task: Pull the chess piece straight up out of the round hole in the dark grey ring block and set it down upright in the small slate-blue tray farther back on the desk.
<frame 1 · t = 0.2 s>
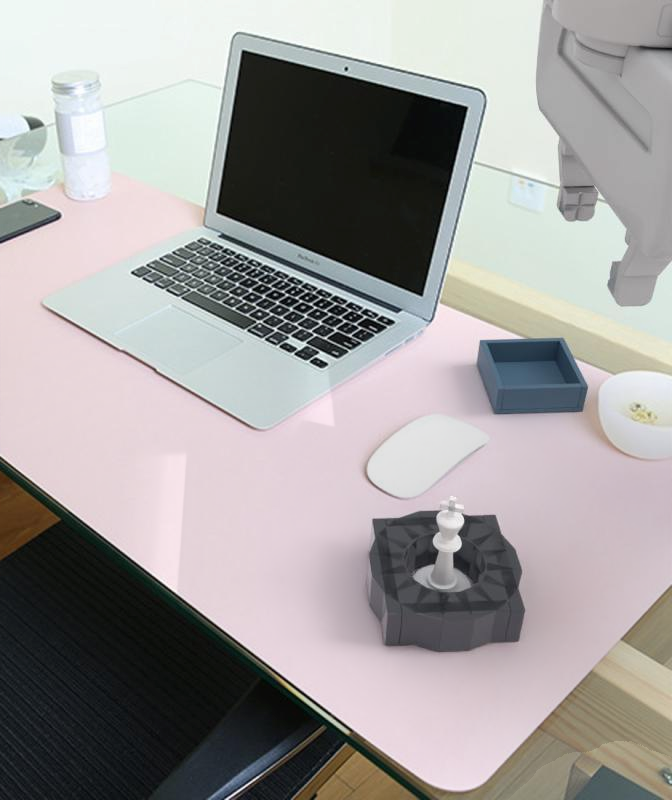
hand: (598, 254, 51), 32 cm above the table, tool pointing down, fingers open, 8 cm apart
basin tray: (527, 386, 97), on the table
dark grey ring block: (440, 592, 75), on the table
chess piece: (440, 594, 75), resting in dark grey ring block
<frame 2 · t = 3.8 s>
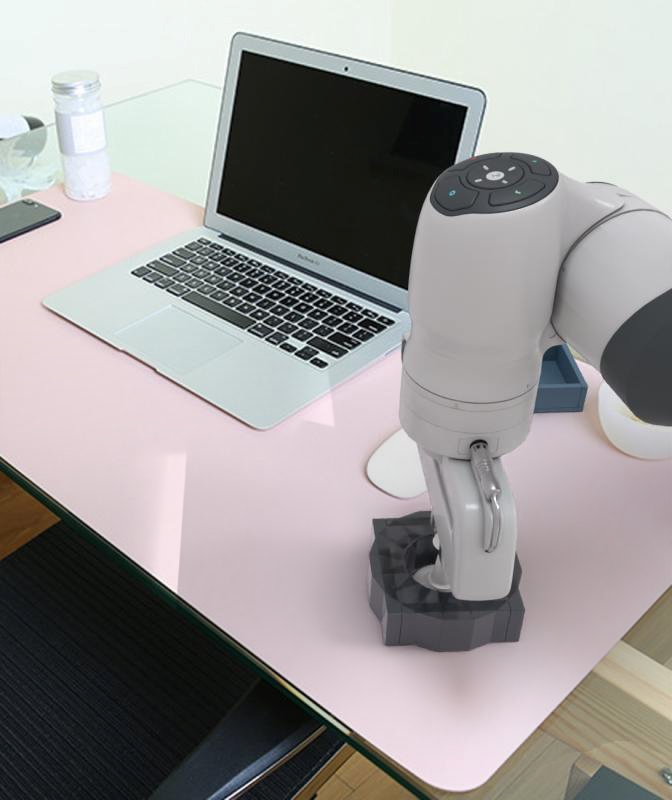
hand: (447, 546, 72), 5 cm above the table, tool pointing down, fingers closed on chess piece
chess piece: (440, 594, 75), resting in dark grey ring block, touching gripper
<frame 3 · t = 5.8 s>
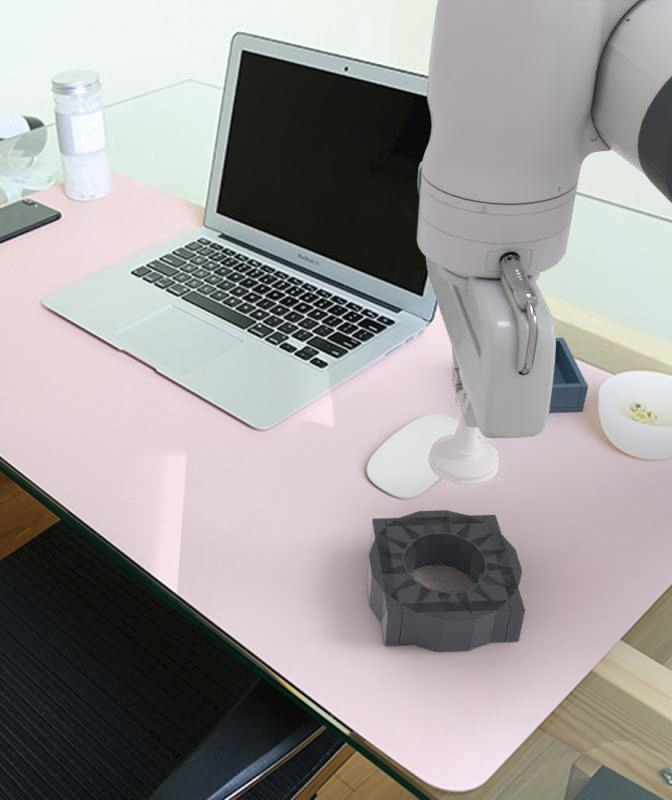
hand: (470, 404, 65), 18 cm above the table, tool pointing down, fingers closed on chess piece
chess piece: (462, 464, 68), point 13 cm above the table, touching gripper
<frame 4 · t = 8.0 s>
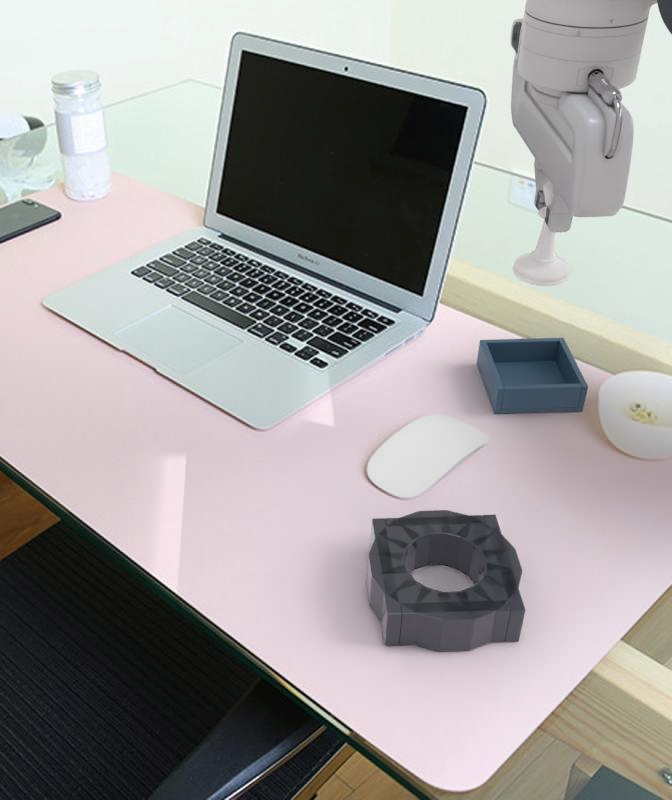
hand: (551, 219, 80), 21 cm above the table, tool pointing down, fingers closed on chess piece
chess piece: (540, 274, 84), point 16 cm above the table, touching gripper
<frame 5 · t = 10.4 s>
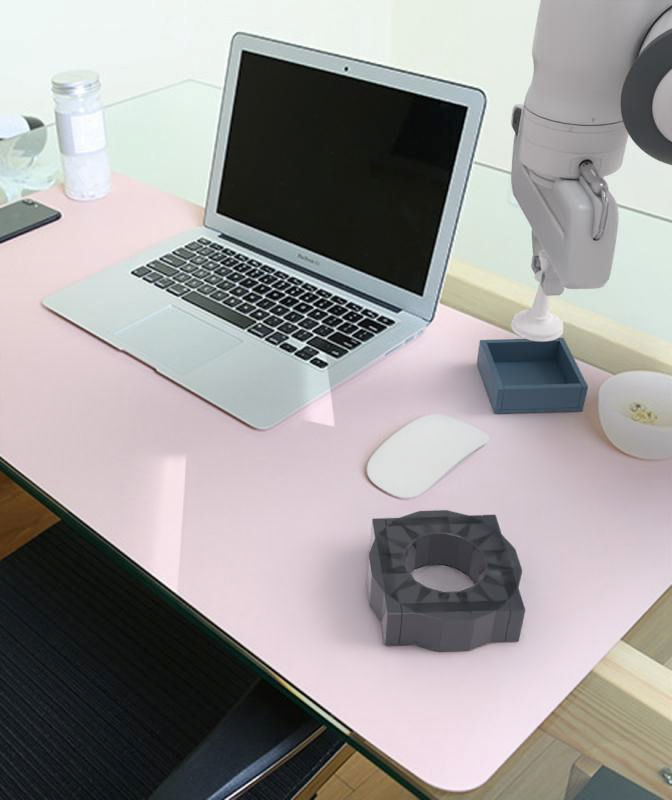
hand: (546, 282, 89), 12 cm above the table, tool pointing down, fingers closed on chess piece
chess piece: (536, 329, 93), point 7 cm above the table, touching gripper
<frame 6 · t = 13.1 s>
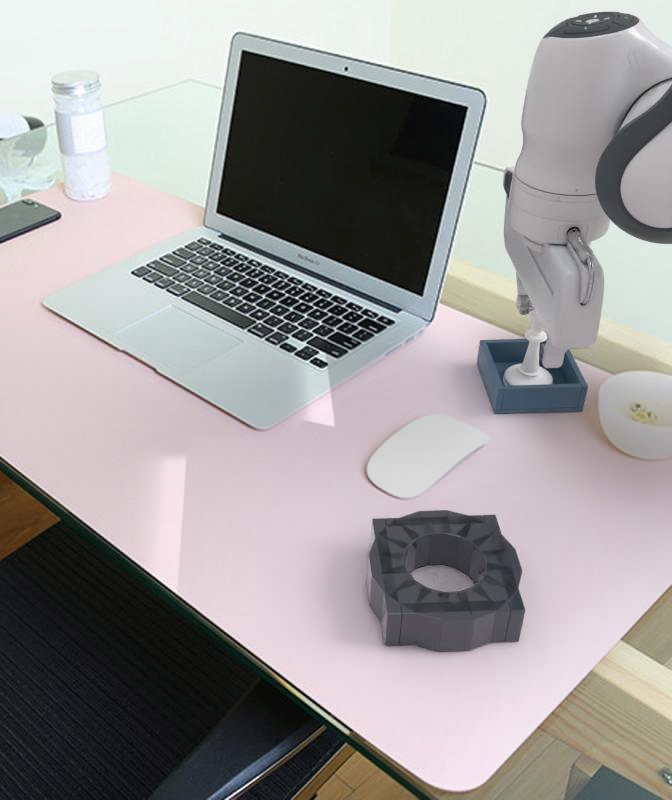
hand: (537, 336, 93), 6 cm above the table, tool pointing down, fingers open, 8 cm apart
chess piece: (527, 384, 96), resting on basin tray
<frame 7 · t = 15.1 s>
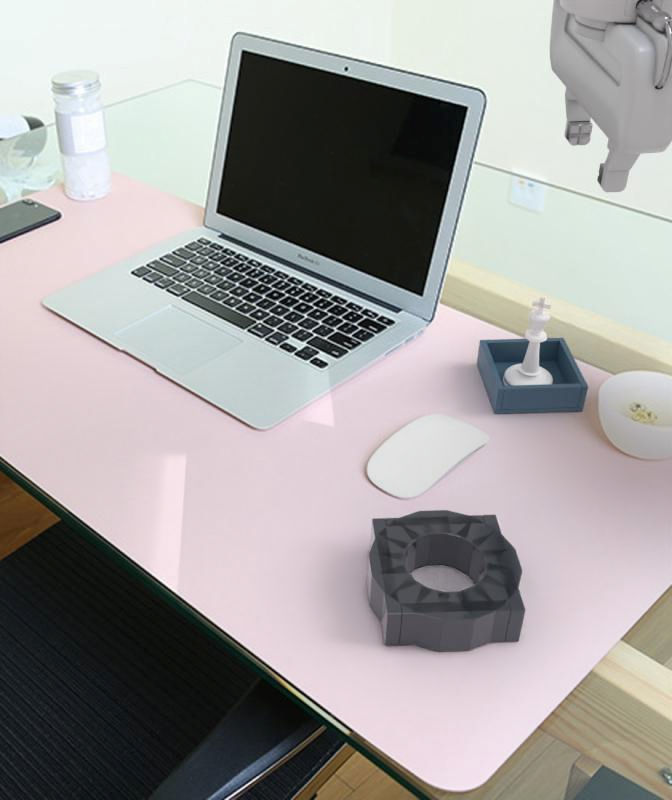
hand: (592, 164, 77), 26 cm above the table, tool pointing down, fingers open, 8 cm apart
nothing on the table moved.
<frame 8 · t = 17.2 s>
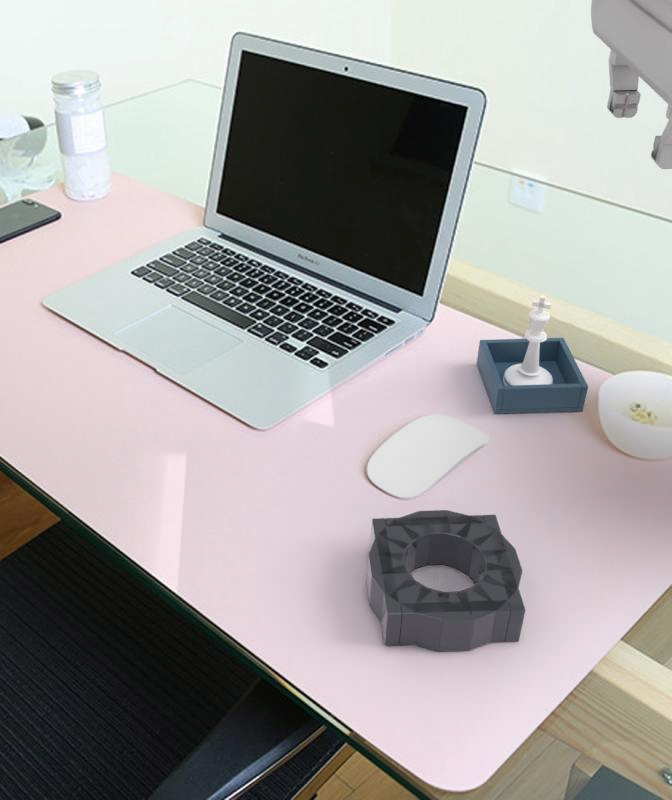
hand: (642, 138, 68), 31 cm above the table, tool pointing down, fingers open, 8 cm apart
nothing on the table moved.
at the end: chess piece 0.1 cm off-centre in the basin tray, point 0.3 cm above the basin tray's base; chess piece tilted 0°; the gripper is holding nothing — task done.
